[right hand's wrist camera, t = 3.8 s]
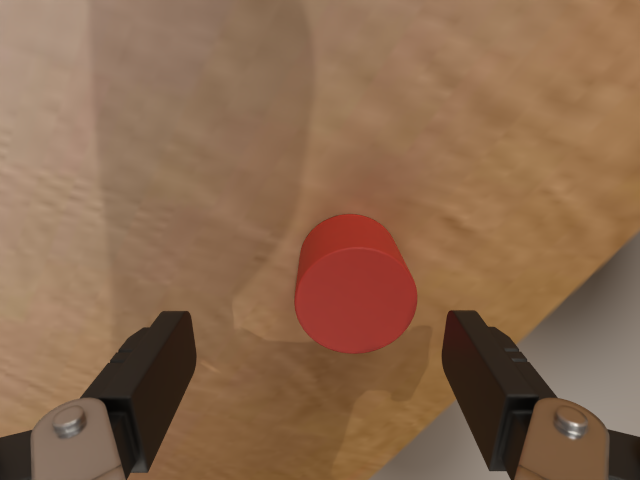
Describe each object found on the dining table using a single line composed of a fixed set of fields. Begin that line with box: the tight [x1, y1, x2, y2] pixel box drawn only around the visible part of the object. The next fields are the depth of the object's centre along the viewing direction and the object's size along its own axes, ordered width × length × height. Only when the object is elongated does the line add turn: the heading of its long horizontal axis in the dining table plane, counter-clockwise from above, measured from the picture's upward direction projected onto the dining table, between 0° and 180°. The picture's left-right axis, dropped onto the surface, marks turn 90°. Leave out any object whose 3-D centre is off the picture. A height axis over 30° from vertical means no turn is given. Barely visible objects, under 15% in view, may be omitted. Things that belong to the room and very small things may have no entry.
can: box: [295, 214, 417, 354], centre depth 16 cm, size 5×5×4 cm
